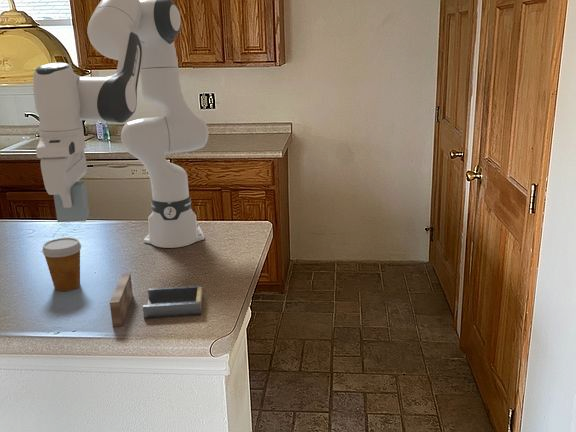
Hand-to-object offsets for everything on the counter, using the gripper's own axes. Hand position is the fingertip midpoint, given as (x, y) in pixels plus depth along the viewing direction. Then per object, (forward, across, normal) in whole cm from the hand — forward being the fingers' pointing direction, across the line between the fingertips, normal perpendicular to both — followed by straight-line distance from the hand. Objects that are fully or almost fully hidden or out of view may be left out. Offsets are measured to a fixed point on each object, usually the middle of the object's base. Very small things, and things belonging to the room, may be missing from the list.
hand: (71, 203), depth 128 cm
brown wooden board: (+27, 0, +8) cm, 28 cm away
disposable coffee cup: (+27, -16, -9) cm, 33 cm away
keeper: (+27, 0, +20) cm, 34 cm away
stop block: (+4, 0, 0) cm, 4 cm away
